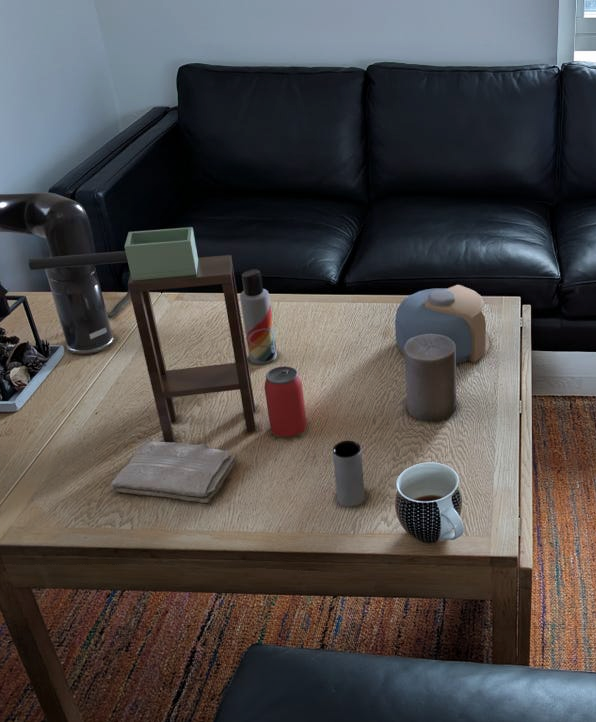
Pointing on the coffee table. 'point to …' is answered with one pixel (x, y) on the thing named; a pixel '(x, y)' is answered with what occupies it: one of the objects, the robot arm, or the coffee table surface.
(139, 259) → the green box scoop
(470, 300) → the alarm clock
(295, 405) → the beer can
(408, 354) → the pillar candle
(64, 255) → the robot arm
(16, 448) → the coffee table surface
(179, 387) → the stand
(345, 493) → the grey black cylinder
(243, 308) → the lotion bottle
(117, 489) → the washcloth
